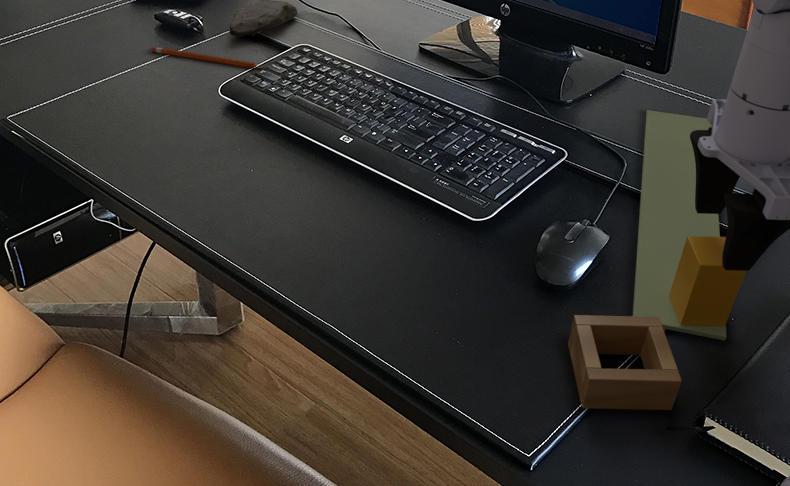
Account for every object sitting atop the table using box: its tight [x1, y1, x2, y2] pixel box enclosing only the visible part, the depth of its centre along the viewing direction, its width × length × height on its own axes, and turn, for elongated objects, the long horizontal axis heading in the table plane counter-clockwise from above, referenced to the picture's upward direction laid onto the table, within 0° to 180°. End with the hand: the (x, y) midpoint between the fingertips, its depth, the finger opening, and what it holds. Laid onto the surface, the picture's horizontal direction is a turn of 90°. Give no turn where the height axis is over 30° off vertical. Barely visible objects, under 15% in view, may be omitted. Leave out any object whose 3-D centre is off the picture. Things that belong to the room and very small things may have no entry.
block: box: [669, 236, 747, 326], centre depth 69 cm, size 4×4×7 cm
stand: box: [567, 314, 683, 411], centre depth 65 cm, size 7×7×4 cm
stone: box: [228, 0, 298, 38], centre depth 119 cm, size 13×6×5 cm
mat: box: [632, 109, 727, 342], centre depth 85 cm, size 40×8×1 cm, turn 164°
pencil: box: [151, 46, 259, 69], centre depth 111 cm, size 1×18×1 cm, turn 72°
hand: (721, 238), depth 66 cm, fingers open, 7 cm apart
